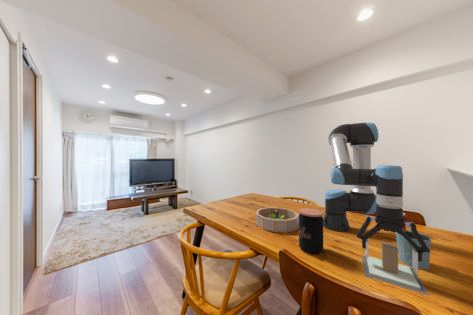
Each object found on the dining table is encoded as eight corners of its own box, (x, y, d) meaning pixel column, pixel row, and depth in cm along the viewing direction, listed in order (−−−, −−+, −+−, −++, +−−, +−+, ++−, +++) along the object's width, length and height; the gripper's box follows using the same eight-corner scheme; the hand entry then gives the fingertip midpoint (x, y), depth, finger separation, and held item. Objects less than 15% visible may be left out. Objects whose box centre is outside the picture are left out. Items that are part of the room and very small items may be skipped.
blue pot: (436, 275, 63) (436, 242, 63) (399, 266, 68) (399, 236, 68) (425, 261, 71) (424, 232, 72) (393, 254, 77) (392, 227, 77)
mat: (364, 277, 62) (364, 275, 62) (362, 256, 75) (362, 255, 75) (429, 297, 53) (429, 295, 53) (413, 269, 66) (412, 267, 66)
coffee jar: (295, 244, 86) (295, 208, 86) (315, 243, 87) (315, 207, 87) (305, 256, 75) (305, 215, 75) (328, 254, 76) (328, 214, 76)
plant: (258, 228, 106) (258, 210, 107) (264, 218, 125) (265, 203, 125) (291, 233, 99) (291, 214, 99) (293, 222, 117) (293, 205, 117)
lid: (369, 274, 62) (369, 247, 62) (366, 257, 73) (366, 234, 73) (420, 290, 55) (420, 259, 55) (408, 268, 66) (408, 243, 66)
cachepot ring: (249, 225, 109) (249, 214, 110) (266, 214, 132) (266, 205, 132) (291, 236, 94) (291, 223, 95) (302, 221, 117) (302, 211, 117)
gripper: (349, 203, 68) (349, 256, 68) (443, 214, 54) (444, 281, 54) (349, 199, 74) (349, 248, 74) (433, 209, 60) (434, 269, 60)
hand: (389, 262), depth 64 cm, fingers open, 13 cm apart
